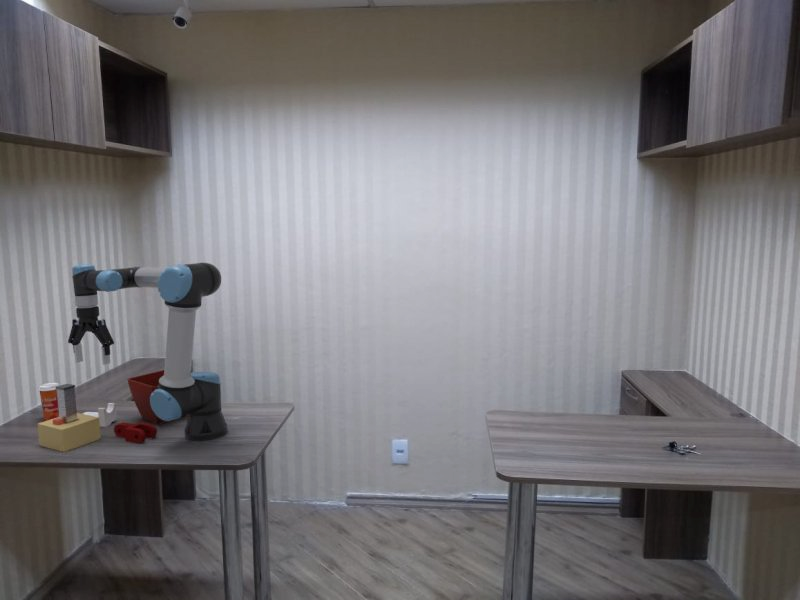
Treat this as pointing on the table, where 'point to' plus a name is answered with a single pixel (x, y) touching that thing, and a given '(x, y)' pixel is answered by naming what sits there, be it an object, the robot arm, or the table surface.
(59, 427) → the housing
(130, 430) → the mechanical linkage
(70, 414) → the column
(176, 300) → the robot arm
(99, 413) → the bracket
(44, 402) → the paper cup
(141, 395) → the plant pot
